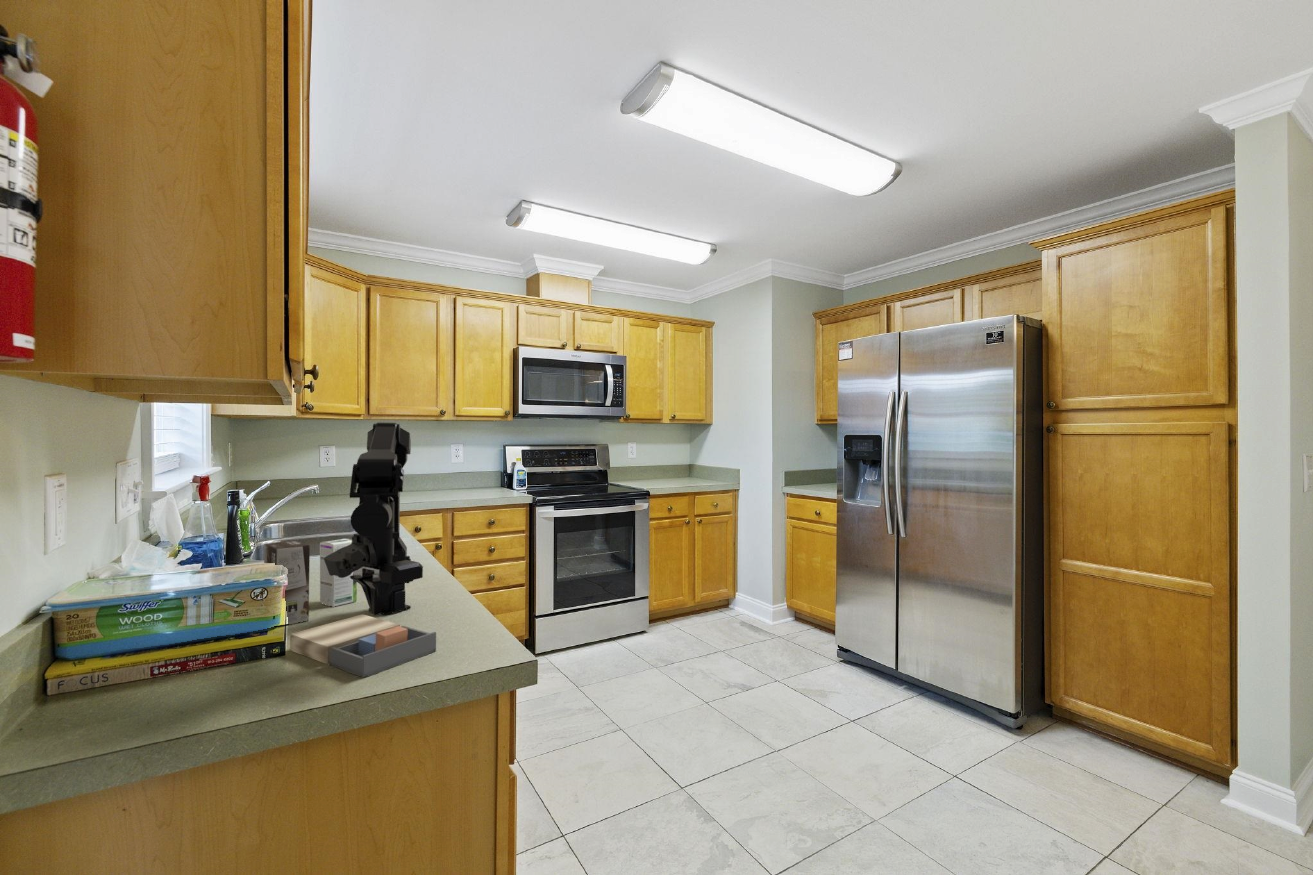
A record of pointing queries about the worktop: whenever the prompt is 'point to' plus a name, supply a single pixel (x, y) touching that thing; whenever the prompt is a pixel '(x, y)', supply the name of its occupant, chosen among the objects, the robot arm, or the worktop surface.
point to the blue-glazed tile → (367, 645)
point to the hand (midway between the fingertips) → (375, 614)
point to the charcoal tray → (383, 654)
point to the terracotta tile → (390, 637)
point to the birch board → (335, 635)
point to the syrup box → (335, 578)
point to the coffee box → (293, 575)
